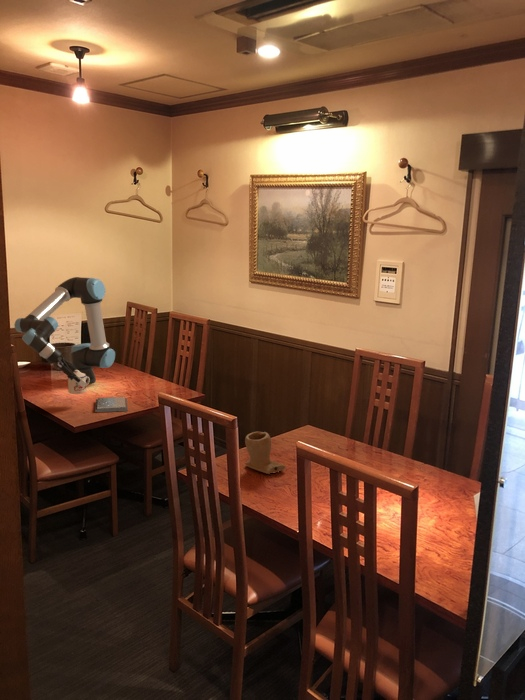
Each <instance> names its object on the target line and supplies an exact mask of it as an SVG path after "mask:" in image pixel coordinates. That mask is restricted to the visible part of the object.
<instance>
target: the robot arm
mask: <svg viewBox="0 0 525 700" xmlns="http://www.w3.org/2000/svg"><path fill="white" fill-rule="evenodd" d="M105 296H106V287H105V284H104V282H103V281H102V280H100V279H98V278H95V277H79V276H78V277H77V276H75V277H71V278H69V279H66V280H64V281H63V282H62V283H60V284H59V285H57V286H56V287H55V288H54V291H53V293H51V294H50V295H49V296H48V297H47V298H45V299H44V300H43V301H42V302H41V303H40V304H39V305H38V306H36V307H35V308H34V309H33V310H32V311H30V313H29V314H27V315H26V316H25V317H21V318H20V317H19V318H17V319H16V320H15V321H14V324H13V326H14V329H15V331H16V332H18V333H23V335H22V336H21V339H22V341H23V342H24V343H25V344H26V345H27V346H29V347H30V348H31V350H32V349H33V350H34V351H35V352H36V353H37V354H39V357H42V358H43V359H45V360H46V362H48V363H49V364H51V365H53V363H54V362H56V364H57V367H58V368H60V369H61V370H60V371H62V372H63V373H64V374H65V375H66V376H68V377H69V378H70V379H71V380H72V379H73V380H75V381H76V382H77V383H78V384H79V385H81V386H82V387H84V386H85V385H86V384H87V381H88V378H86V382H85V381H83V380H82V379H81V378H80V377H79V376H77V375H75V374H74V373H73V372H74V370H78V372H81V373H84V374H85V375H86V376H87V377H89V378H90V382H89V384H94V383H95V382H96V381H97V380H96V379H97V378H96V374H95V371H94V370H93V367H94V368H101V369H106V368H107V369H108V368H110V367H112V365H113V364H114V362H115V359H116V351H115V350H114V348H113V349H112V348H111V345H110V343H109V342H107V338H106V332H105V327H104V319H103V313H102V308H101V307H102V306H101V303H102V302H103V299H104V297H105ZM74 298H78V299H80V303H81V304H82V305H83V306H84V310H85V311H84V312H85V316H86V322H87V329H88V333H89V339H90V342H86V343H78V344H75V345H74V346H72V349H71V356H72V364H71V363H70V362H69V361H67V360H66V359H65V358H64V357H60V356H61V354H62V353H61V352H60V351H59V350H57V349H55V347H54V346H53V345H52V344H53V343H51V342H49V341H48V339H49V338H50V337H51V335H52V334H54V332H56V330H57V329H58V327H59V322H58V321H57V320H56V319H55V318H54V317H52V316H51V315H52V314H53V313H54V312H55V311H56V310H57V309H58V308H60V307H61V306H62V305H63V303H65V302H69V301H70V300H71V299H74ZM68 377H67V378H68ZM89 384H88V385H89Z"/></svg>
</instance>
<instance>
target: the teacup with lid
mask: <svg viewBox="0 0 525 700" xmlns="http://www.w3.org/2000/svg"><path fill="white" fill-rule="evenodd" d="M73 373H74V374H75V375H77V376H79V377H80V378H81V379H82V380H83V381H85V382H86V378H88V381H87V384H86V385H85V386H84V387H82V386H81V385H79V384H78V383H77V382H76V381H75V380H73V379H72V380H71V379H70V378H69V377H68V376H67V375H66V376H67V389H68V391H67V393H68V394H72V395H80V394H84V393H86V392H87V386H88V385H89V382H90V378H89V377H87V376H86V375H85V374H84V373H81V372H78V370H74V372H73Z"/></svg>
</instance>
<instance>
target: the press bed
mask: <svg viewBox="0 0 525 700" xmlns="http://www.w3.org/2000/svg"><path fill="white" fill-rule="evenodd" d="M94 406H95V407H94V413H95V412H99V413H112V412H113V413H114V412H115V413H116V411H119V412H128V398H127V397H126V396H116V397H98V398H97V399H95V405H94Z"/></svg>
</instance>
